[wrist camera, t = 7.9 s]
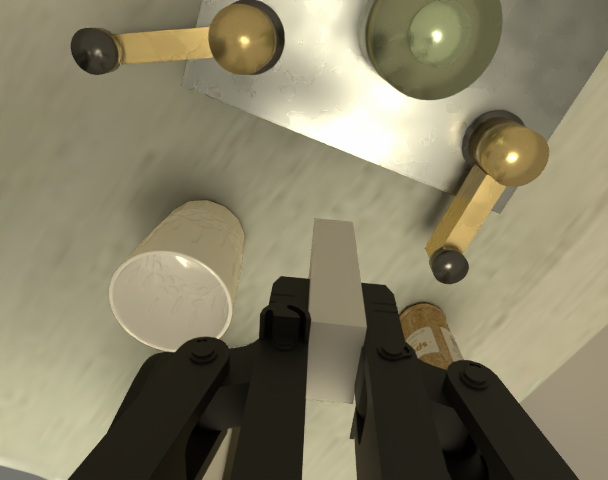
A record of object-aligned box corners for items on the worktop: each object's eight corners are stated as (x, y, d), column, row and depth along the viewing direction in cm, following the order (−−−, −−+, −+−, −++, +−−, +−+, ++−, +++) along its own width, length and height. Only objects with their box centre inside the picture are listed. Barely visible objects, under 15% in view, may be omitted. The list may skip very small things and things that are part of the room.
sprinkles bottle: (395, 303, 39) (431, 427, 27) (447, 299, 39) (505, 423, 27) (396, 343, 41) (429, 474, 29) (444, 339, 41) (498, 471, 29)
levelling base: (188, 81, 31) (133, 107, 22) (255, -177, 25) (218, -302, 15) (490, 203, 35) (556, 271, 25) (616, 6, 28) (768, -3, 19)
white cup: (139, 233, 37) (83, 301, 28) (200, 172, 34) (160, 226, 25) (209, 291, 39) (178, 371, 30) (271, 238, 37) (257, 309, 28)
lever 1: (97, 18, 27) (61, 17, 23) (275, 4, 27) (268, 0, 23) (112, 78, 29) (81, 87, 25) (281, 66, 28) (275, 73, 24)
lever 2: (407, 246, 34) (419, 274, 30) (486, 108, 29) (512, 121, 25) (447, 261, 34) (464, 291, 31) (531, 128, 30) (563, 144, 26)
